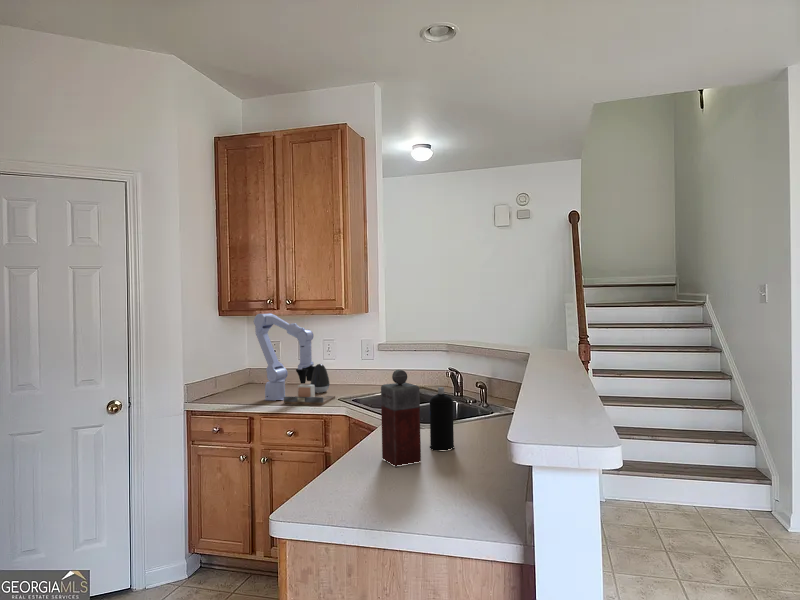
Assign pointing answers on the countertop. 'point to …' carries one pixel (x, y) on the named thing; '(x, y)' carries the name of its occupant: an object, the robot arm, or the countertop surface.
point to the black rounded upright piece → (320, 379)
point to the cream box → (306, 390)
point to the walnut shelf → (308, 400)
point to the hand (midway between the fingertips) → (306, 382)
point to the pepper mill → (400, 421)
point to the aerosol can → (441, 421)
